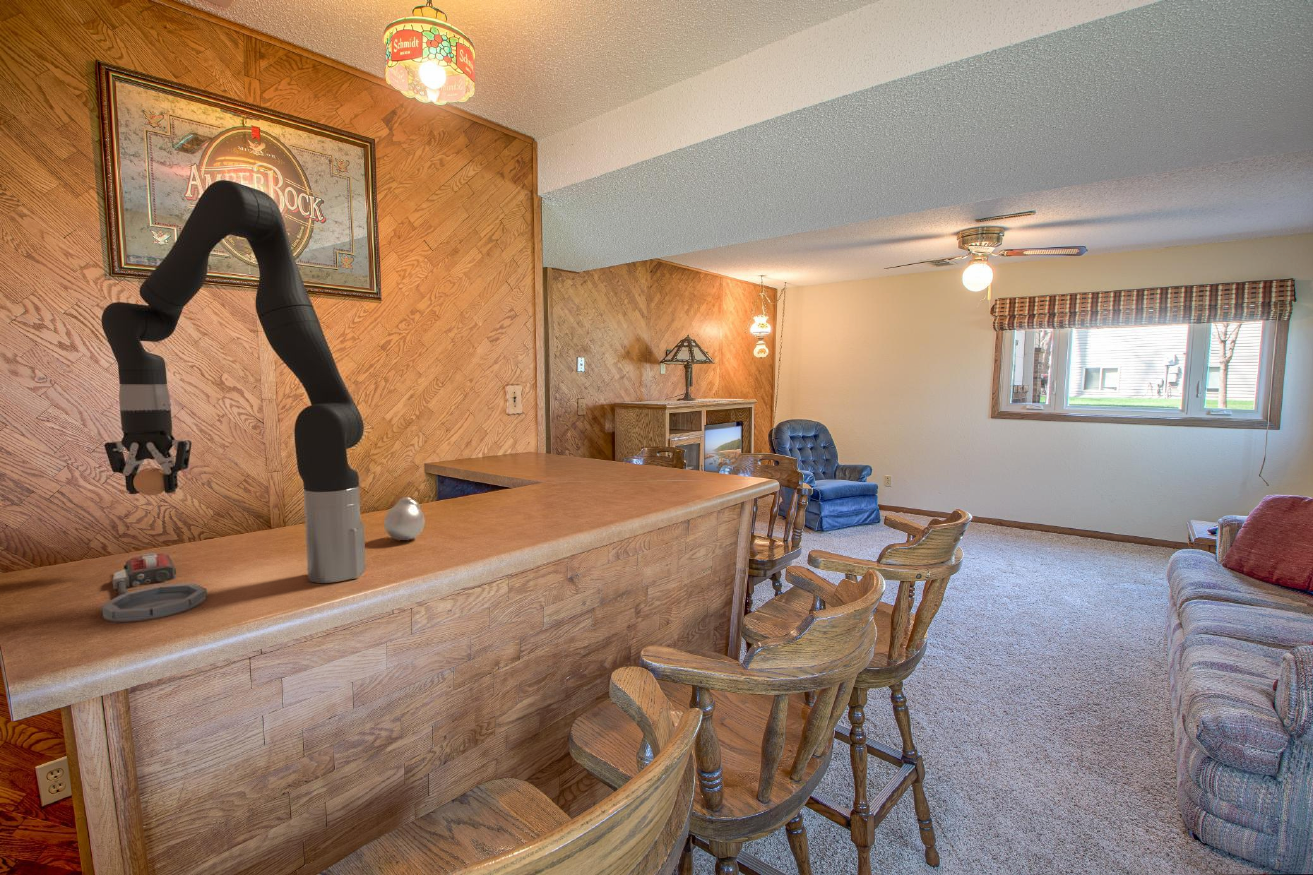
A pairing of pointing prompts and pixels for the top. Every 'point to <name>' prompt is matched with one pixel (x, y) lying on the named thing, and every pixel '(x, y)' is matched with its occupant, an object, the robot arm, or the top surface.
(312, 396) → the robot arm
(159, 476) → the ball
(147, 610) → the dish
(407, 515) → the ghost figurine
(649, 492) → the top surface
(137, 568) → the walkie-talkie
